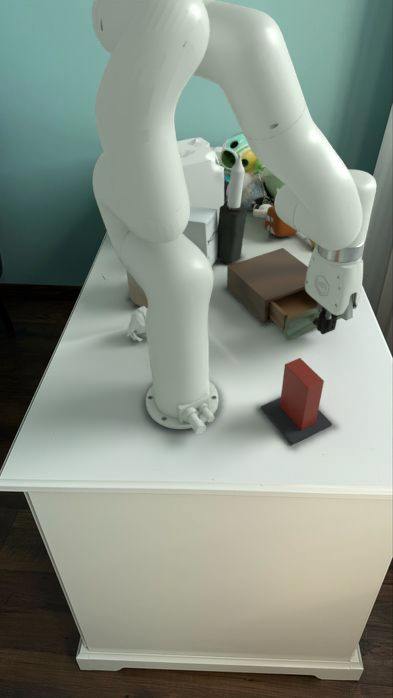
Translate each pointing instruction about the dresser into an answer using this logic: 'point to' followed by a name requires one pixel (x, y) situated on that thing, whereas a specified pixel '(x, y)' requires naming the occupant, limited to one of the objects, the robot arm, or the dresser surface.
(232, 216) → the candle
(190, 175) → the tissue box
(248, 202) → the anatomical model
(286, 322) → the drawer
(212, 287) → the robot arm
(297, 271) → the cabinet
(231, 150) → the turtle holder
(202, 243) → the white packaging box
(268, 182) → the toy
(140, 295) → the planter
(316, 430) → the pad
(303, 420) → the book
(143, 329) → the figurine
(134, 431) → the dresser surface
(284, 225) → the toy
